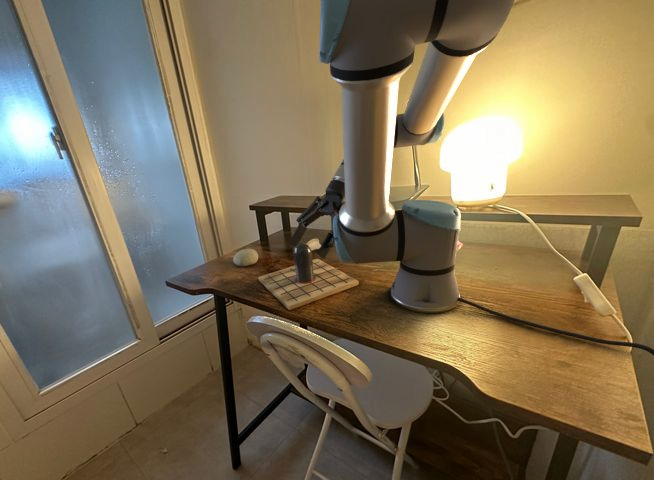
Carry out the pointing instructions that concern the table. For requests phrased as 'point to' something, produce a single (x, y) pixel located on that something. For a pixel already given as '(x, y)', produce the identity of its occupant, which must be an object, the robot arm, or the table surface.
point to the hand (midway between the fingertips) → (305, 250)
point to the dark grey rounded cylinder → (303, 263)
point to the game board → (306, 284)
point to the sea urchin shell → (245, 257)
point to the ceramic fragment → (314, 244)
